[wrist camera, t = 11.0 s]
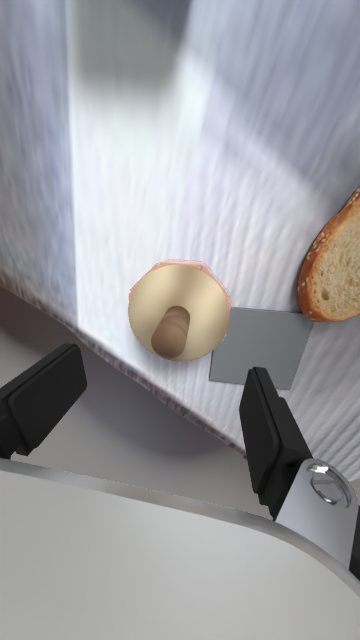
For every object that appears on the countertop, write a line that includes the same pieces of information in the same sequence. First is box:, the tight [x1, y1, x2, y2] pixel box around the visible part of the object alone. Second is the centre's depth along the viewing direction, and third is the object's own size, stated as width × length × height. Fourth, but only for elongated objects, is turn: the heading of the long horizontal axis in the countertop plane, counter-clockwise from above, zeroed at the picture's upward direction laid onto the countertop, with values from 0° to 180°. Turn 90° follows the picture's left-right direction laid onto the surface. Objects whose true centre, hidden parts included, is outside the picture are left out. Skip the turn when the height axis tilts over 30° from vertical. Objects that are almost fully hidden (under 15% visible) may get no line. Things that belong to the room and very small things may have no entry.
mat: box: [209, 307, 314, 390], centre depth 26 cm, size 12×12×1 cm
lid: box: [128, 265, 230, 361], centre depth 18 cm, size 11×11×6 cm
